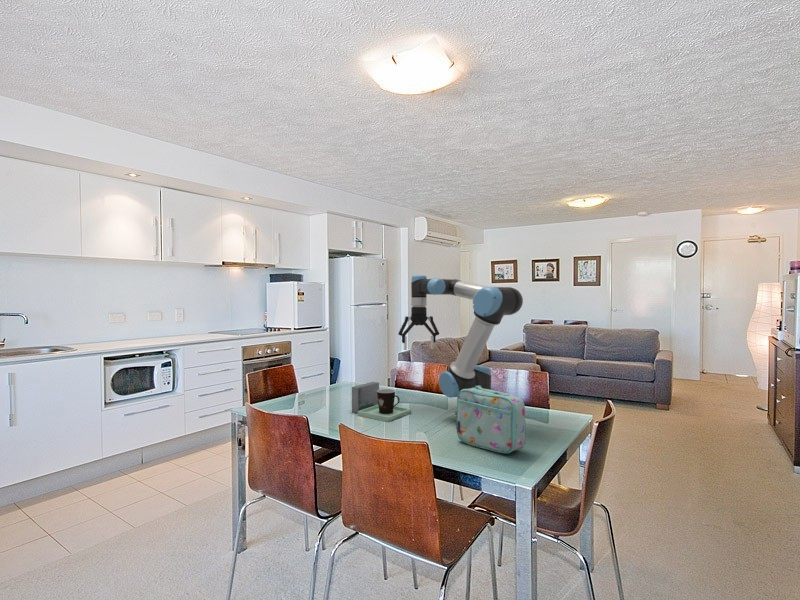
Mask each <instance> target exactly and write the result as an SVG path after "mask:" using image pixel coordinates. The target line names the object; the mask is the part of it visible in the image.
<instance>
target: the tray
mask: <svg viewBox="0 0 800 600" xmlns="http://www.w3.org/2000/svg"><path fill="white" fill-rule="evenodd" d="M410 414H412V409H411V408H406V407H402V406H398V405H396V406H395V407H393V413H391V414H381V413H379V405H376V406H373V407H369V408H366V409H363V410H360V411H358V413H357V416H359V417H363V418H367V419H371V420H372V419H373V420H377V421H381V422H387V423H389V422H392V421H395V420H397V419H400V418H402V417H405V416H408V415H410Z"/></svg>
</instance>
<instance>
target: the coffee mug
mask: <svg viewBox="0 0 800 600" xmlns="http://www.w3.org/2000/svg"><path fill="white" fill-rule="evenodd" d="M377 396H378V405H379V413H381V414H391V413H393V407H395V406H398V405H399V403H400V402H401V400H400V397H399V396H398V395H396V390H395V389H391V388H390V389H389V388H383V389H381V388H380V389H379V390H377ZM395 398H396V399H398V400H397V402H396V404H395Z"/></svg>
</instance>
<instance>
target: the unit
mask: <svg viewBox="0 0 800 600" xmlns="http://www.w3.org/2000/svg"><path fill="white" fill-rule="evenodd" d="M377 390H380V382H377V381H370V382H366V383H362V384H359V385H355V386H351V413H354V414H358V411H360V410H363V409H366V408H369V407H373V406H376V405H378V396H377Z"/></svg>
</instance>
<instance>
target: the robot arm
mask: <svg viewBox="0 0 800 600" xmlns="http://www.w3.org/2000/svg"><path fill="white" fill-rule="evenodd" d="M410 286H411V287H410V288H411V306H412V307H411V308H410V309H411V310H410V311H411V314H410V316H407V315H405V316H404V321H403V323H402V325H401V327H400V329H399V331H398V334H397V335H398V336H401V343H402V344H403V350H404V351H407V346H408V345H407V342H408V340H407V334H408V333H409V332H410V331H411V329H412V328H413V327H414V326H424V327H425V328H426V329H427V331H428V332H429V333H430V334H431V335H430V350H433V351H434V345H435V344H434V343H436V341H437V340H436V336H439V335H440V332H439V330H438V328H437V326H436V323H435V322H434V317H433V316H432V315H431V316H428V315H427V314H428V313H427V310H428V309H427V299H428V298H427V295H432V296H433V295H434V296H435V295H441V296H443V295H448V296H449V295H450V296H456V297H459V298H462V299H463V298H464V299H467V300H471V301H472V304H473V305H472V307H473V308H472V309H473V316H474V319H473V321H472V323H471V325H470V328H469V330H468V333H467V335H466V337H465V339H464V341H463V344H462V347H461V349H460V351H459V353H458V355H457V357H456V360H455V361H452V362H451V363H450V365H449V366H448V369H447V370H444V371H442V372H441V373H440V374H439V376H438V385H439V388H440V390H441V392H442V394H443V395H444V396H445V397H447V398H451V399H452V398H457V397H458V394H459V392H460V391H461V390H463V389H471V388H475V386H481V387H482V388H483V389H489V390H492V371H491V368H490V367H489V366H485V365H478V364H477V363H478V362H479V360H480V357H481V355H482V354H483V351H484V349H485V347H486V345H487V343H488V341H489V339H490V336H491V335H492V332H493V330H494V328H495V326H498V325H499V324H500V323H501V321H502V319H503V318H504V316H511V315H512V316H513V315H514V314H517V313H518V312H519V311H520V310H521V308H522V307H523V303H524V302H523V300H524V299H523V295H522V294H521V292H520V291H519V290H518V289H516V288H514V287H510V286H507V287H506V286H504V287H503V286H488V285H487V286H486V285H482V284H478V283H473V282H467V281H463V280H461V279H458V278H457V279H456V278H454V279H452V278H451V279H450V278H449V279H448V278H438V277H437V278H436V277H434V278H427V275H424V274H419V275H418V274H417V275H412V276H411V283H410ZM410 320H411V322H410V324H409V325H408V322H409V321H410ZM427 320H428V321H429V322H430V325H431V327H432V328H431V327H430V325H428V323H427ZM407 325H408V327H406V326H407ZM405 328H406V329H405ZM432 329H433V330H432Z"/></svg>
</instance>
